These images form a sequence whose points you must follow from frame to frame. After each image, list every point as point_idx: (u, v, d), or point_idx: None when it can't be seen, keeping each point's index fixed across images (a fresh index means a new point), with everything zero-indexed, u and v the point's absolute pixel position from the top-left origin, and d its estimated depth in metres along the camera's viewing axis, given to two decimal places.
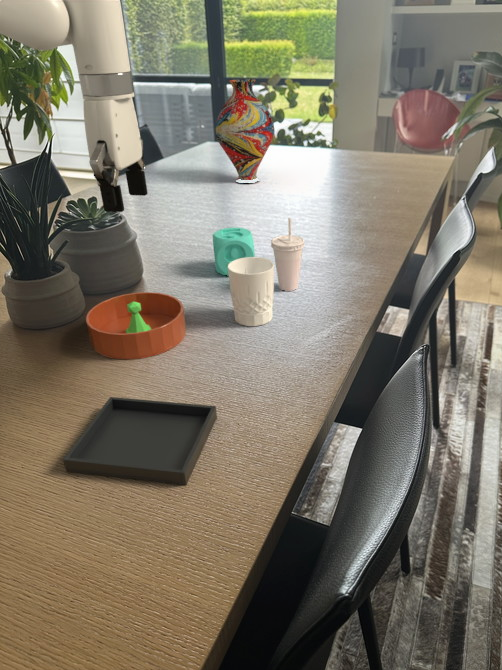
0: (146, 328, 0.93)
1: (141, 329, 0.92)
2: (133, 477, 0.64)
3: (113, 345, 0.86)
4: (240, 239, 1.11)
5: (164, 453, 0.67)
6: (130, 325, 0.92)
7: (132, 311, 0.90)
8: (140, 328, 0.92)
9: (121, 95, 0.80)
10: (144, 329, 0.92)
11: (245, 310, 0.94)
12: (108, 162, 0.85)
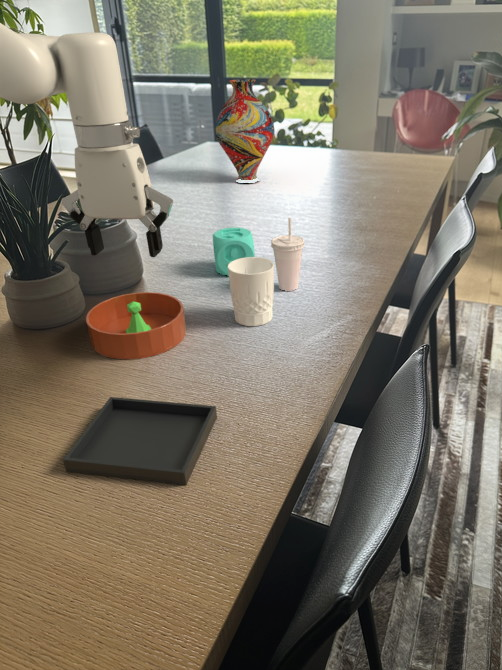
0: (146, 328, 0.93)
1: (141, 329, 0.92)
2: (133, 477, 0.64)
3: (113, 345, 0.86)
4: (240, 239, 1.11)
5: (164, 453, 0.67)
6: (130, 325, 0.92)
7: (132, 311, 0.90)
8: (140, 328, 0.92)
9: (80, 147, 0.75)
10: (144, 329, 0.92)
11: (245, 310, 0.94)
12: None
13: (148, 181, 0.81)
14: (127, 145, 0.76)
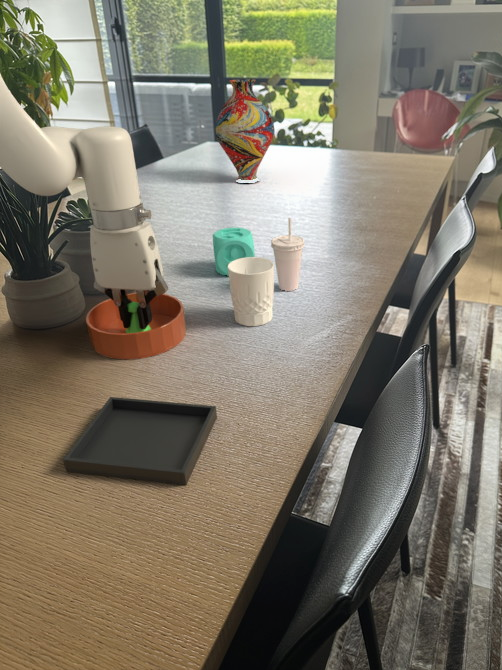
0: (146, 328, 0.93)
1: (141, 329, 0.92)
2: (133, 477, 0.64)
3: (113, 345, 0.86)
4: (240, 239, 1.11)
5: (164, 453, 0.67)
6: (130, 325, 0.92)
7: (132, 311, 0.90)
8: (140, 328, 0.92)
9: (96, 228, 0.81)
10: (144, 329, 0.92)
11: (245, 310, 0.94)
12: None
13: (158, 255, 0.87)
14: (139, 226, 0.82)
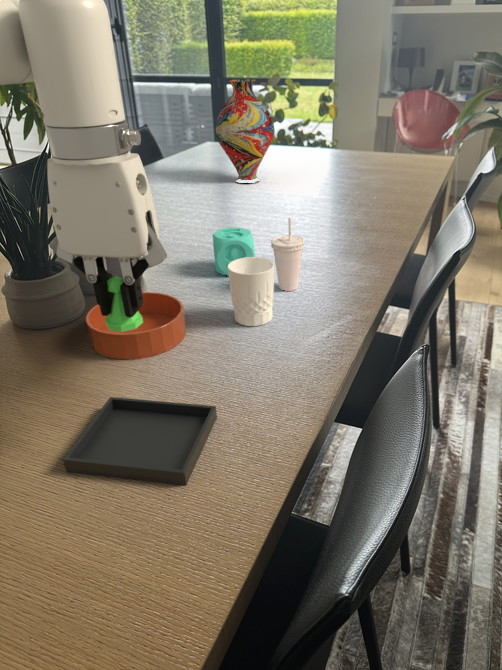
0: (135, 316, 0.64)
1: (128, 317, 0.63)
2: (133, 477, 0.64)
3: (113, 345, 0.86)
4: (240, 239, 1.11)
5: (164, 453, 0.67)
6: (111, 311, 0.63)
7: (114, 290, 0.61)
8: (125, 315, 0.63)
9: (55, 158, 0.52)
10: (132, 317, 0.64)
11: (245, 310, 0.94)
12: None
13: (151, 206, 0.58)
14: (123, 156, 0.53)
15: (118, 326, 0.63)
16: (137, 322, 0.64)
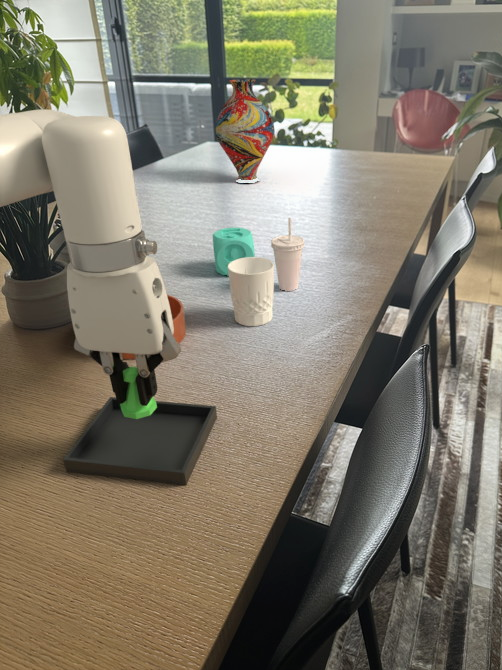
0: (149, 402, 0.66)
1: None
2: (133, 477, 0.64)
3: None
4: (240, 239, 1.11)
5: (164, 453, 0.67)
6: (126, 398, 0.65)
7: (130, 381, 0.63)
8: None
9: (75, 269, 0.54)
10: None
11: (245, 310, 0.94)
12: None
13: (166, 305, 0.60)
14: (139, 265, 0.55)
15: (133, 414, 0.65)
16: (151, 409, 0.66)
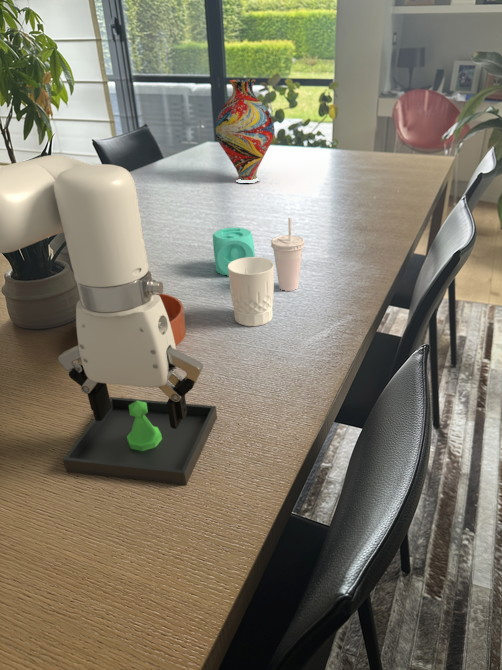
0: (154, 434, 0.69)
1: (148, 437, 0.68)
2: (133, 477, 0.64)
3: None
4: (240, 239, 1.11)
5: (164, 453, 0.67)
6: (133, 431, 0.68)
7: (136, 415, 0.66)
8: (146, 435, 0.68)
9: (84, 308, 0.57)
10: (152, 436, 0.68)
11: (245, 310, 0.94)
12: None
13: (171, 340, 0.62)
14: (146, 304, 0.58)
15: (139, 446, 0.67)
16: (157, 440, 0.68)
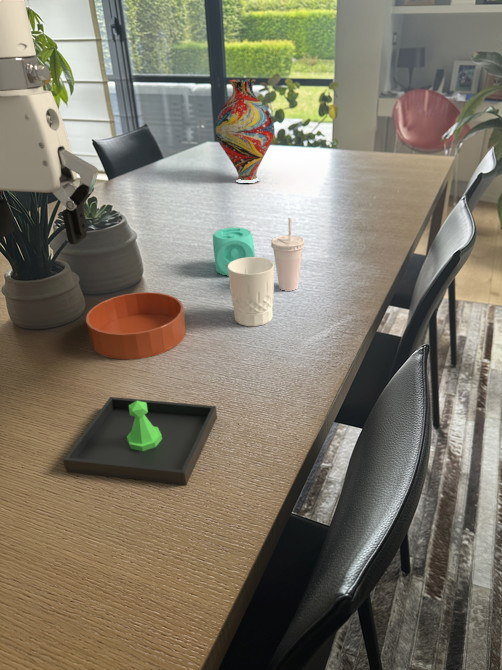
0: (154, 434, 0.69)
1: (148, 437, 0.68)
2: (133, 477, 0.64)
3: (113, 345, 0.86)
4: (240, 239, 1.11)
5: (164, 453, 0.67)
6: (133, 431, 0.68)
7: (135, 415, 0.66)
8: (146, 435, 0.68)
9: None
10: (152, 436, 0.68)
11: (245, 310, 0.94)
12: None
13: (65, 142, 0.61)
14: (32, 90, 0.56)
15: (139, 446, 0.67)
16: (157, 440, 0.68)
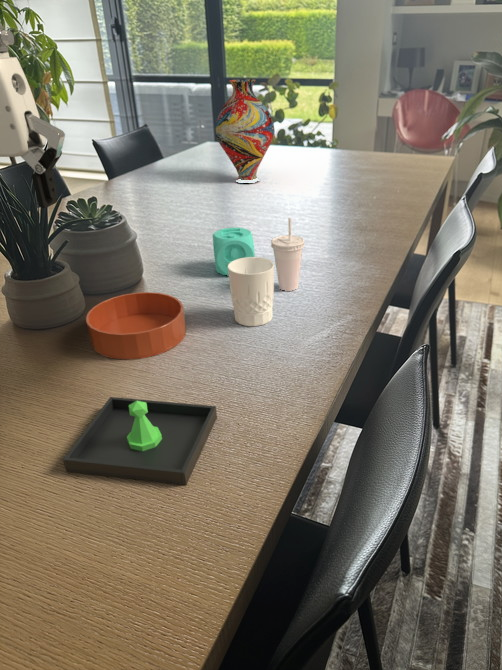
0: (154, 434, 0.69)
1: (148, 437, 0.68)
2: (133, 477, 0.64)
3: (113, 345, 0.86)
4: (240, 239, 1.11)
5: (164, 453, 0.67)
6: (133, 431, 0.68)
7: (135, 415, 0.66)
8: (146, 435, 0.68)
9: None
10: (152, 436, 0.68)
11: (245, 310, 0.94)
12: None
13: (32, 108, 0.63)
14: None
15: (139, 446, 0.67)
16: (157, 440, 0.68)
